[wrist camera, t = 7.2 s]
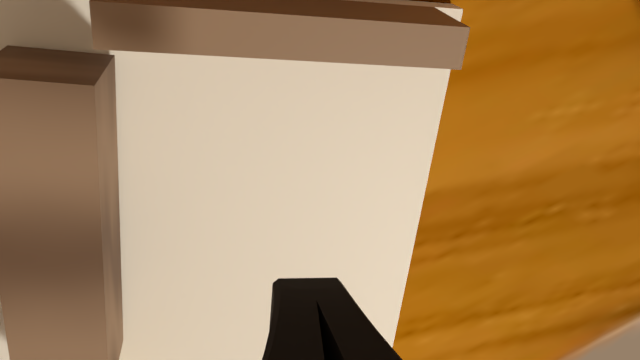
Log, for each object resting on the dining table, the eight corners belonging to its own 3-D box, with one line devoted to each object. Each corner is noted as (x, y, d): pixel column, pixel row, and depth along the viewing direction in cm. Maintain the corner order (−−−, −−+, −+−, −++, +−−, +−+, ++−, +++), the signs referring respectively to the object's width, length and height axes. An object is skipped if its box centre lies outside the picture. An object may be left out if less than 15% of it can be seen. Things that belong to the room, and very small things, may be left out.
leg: (123, 339, 22) (109, 401, 19) (42, 340, 21) (16, 403, 19) (114, 55, 17) (94, 85, 14) (7, 45, 16) (-35, 75, 14)
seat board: (-24, 401, 24) (-73, 501, 20) (-141, -43, 16) (-262, -20, 12) (377, 380, 27) (402, 464, 23) (451, 3, 19) (511, 33, 15)
